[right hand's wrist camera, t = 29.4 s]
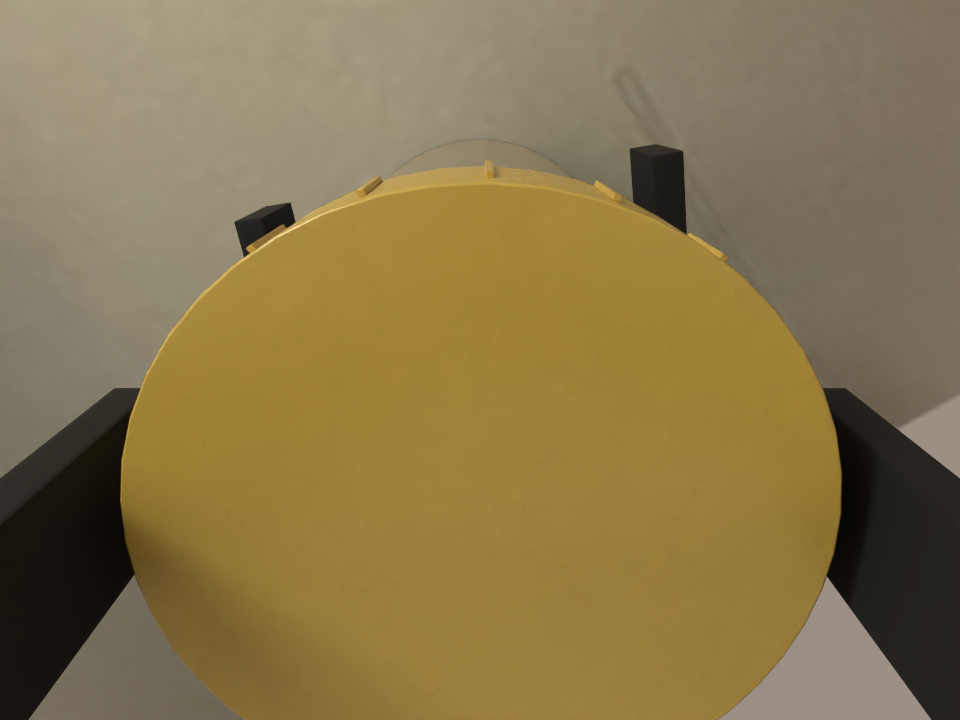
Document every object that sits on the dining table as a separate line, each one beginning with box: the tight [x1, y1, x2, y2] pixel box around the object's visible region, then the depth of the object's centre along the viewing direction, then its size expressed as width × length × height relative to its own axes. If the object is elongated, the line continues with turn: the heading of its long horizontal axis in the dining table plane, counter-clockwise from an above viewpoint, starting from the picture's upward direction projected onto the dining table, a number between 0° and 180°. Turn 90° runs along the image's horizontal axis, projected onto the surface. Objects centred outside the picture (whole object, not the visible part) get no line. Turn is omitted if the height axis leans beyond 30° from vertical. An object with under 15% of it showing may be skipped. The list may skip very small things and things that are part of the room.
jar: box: [386, 140, 574, 180], centre depth 19 cm, size 10×10×16 cm
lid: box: [120, 161, 842, 720], centre depth 11 cm, size 11×11×2 cm
